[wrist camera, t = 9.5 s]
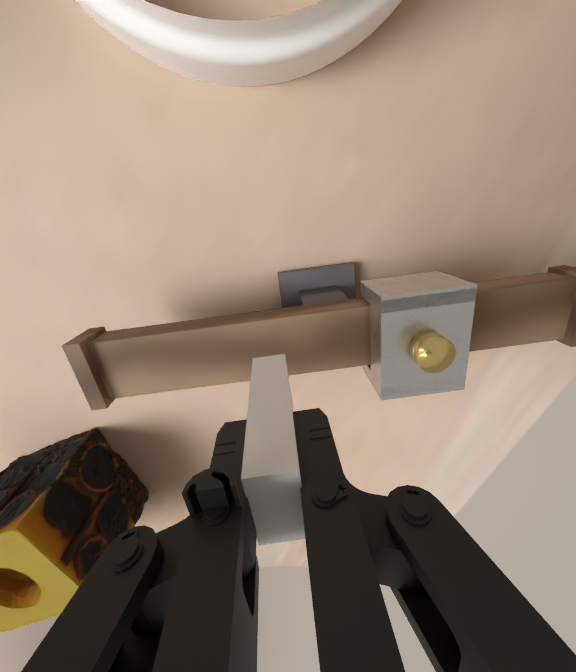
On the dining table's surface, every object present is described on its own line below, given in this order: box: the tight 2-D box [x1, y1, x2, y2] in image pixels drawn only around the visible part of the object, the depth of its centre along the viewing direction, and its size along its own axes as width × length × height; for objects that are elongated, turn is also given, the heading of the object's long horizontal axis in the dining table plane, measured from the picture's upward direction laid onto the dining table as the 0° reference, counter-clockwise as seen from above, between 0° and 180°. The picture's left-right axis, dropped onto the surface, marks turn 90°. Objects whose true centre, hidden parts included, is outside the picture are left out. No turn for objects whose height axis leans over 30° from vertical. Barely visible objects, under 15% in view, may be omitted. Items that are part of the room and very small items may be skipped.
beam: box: [62, 262, 576, 410], centre depth 21 cm, size 7×32×8 cm, turn 97°
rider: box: [360, 271, 477, 400], centre depth 18 cm, size 6×5×5 cm
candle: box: [0, 429, 149, 632], centre depth 26 cm, size 10×10×10 cm
